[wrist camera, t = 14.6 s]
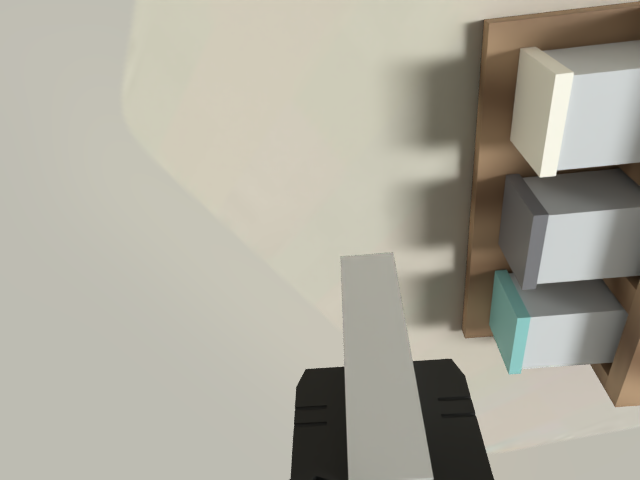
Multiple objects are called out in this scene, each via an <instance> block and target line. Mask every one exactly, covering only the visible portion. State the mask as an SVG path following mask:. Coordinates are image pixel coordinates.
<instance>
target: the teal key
mask: <svg viewBox="0 0 640 480" xmlns="http://www.w3.org/2000/svg"><path fill="white" fill-rule="evenodd" d="M627 317H628V313H627V312H626V311H625V309H624V308H623V307H622V305H621V304H620V303H619V301H618V300H617V299H616V297H615V296H614V294H613V293H612V292H611V290H610V289H609V288H608V286H607V285H606V284H605V282H604V281H603V280H602V279H591V280H579V281H567V282H555V283H543V284H537V285H536V289H529V290H522V289H521V287H520V285H519V283H518V281H517V279H516V277H515V275H514V273H508V271H507V270H497V271H495V276H494V284H493V293H492V302H491V311H490V320H489V326H490V328H491V331H492V333H493V336H494V338H495V341H496V343H497V346H498V348H499V351H500V353H501V356H502V358H503V361H504V363H505V366H506V368H507V371H508V373H509V374H520V373H521V370H522V369H529V368H543V367H557V366H571V365H585V364H599V363H612V362H613V360H614V357H615V354H616V351H617V348H618V345H619V342H620V339H621V335H622V332H623V329H624V326H625V323H626V320H627Z"/></svg>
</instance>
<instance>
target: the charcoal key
mask: <svg viewBox="0 0 640 480" xmlns="http://www.w3.org/2000/svg"><path fill="white" fill-rule="evenodd" d="M498 245H499V246H500V248H501V250H502V252H503V254H504V256H505V258H506V260H507V262H508V264H509V266H510V268H511V270H512V272H513V273H514V275H515V277H516V279H517V281H518V283H519V285H520V287H521V289H522V290H529V289H536V285H537V284H543V283H555V282H567V281H579V280H591V279H603V278H616V277H628V276H640V186H639V185H638V184H637V183H636V182H635V181H633V180H632V179H631V178H630V177H629V176H628V175H627V174H626V173H624V172H623V171H622V170H621V169H620V168H619V169H608V170H598V171H587V172H577V173H567V174H556V176H550V177H539V176H536V177H525V178H522V177H521V175H520V174H510V175H506V179H505V188H504V197H503V205H502V214H501V223H500V232H499V241H498Z"/></svg>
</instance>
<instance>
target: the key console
mask: <svg viewBox="0 0 640 480" xmlns="http://www.w3.org/2000/svg"><path fill="white" fill-rule="evenodd" d="M634 40H640V2H631V3H623V4H614V5H606V6H597V7H589V8H580V9H572V10H563V11H554V12H546V13H537V14H529V15H520V16H512V17H503V18H495V19H486V20H484V27H483V41H482V55H481V69H480V83H479V97H478V111H477V125H476V139H475V153H474V168H473V182H472V196H471V210H470V224H469V238H468V252H467V266H466V280H465V294H464V308H463V322H462V331H463V334H464V337H465V338H475V337H488V336H493V333H492V331H491V328H490V326H489V320H490V311H491V302H492V293H493V284H494V276H495V271H497V270H507V271H508V273H513V272H512V270H511V268H510V266H509V264H508V262H507V260H506V258H505V256H504V254H503V252H502V250H501V248H500V246H499V245H498V241H499V232H500V223H501V214H502V205H503V197H504V188H505V179H506V175H510V174H520V175H521V177H522V178H525V177H536V176H538V175H537V173H536V172H535V171H534V170H533V168H532V167H531V166H530V165H529V163H528V162H527V161H526V160H525V158H524V157H523V156H522V155H521V153H520V152H519V151H518V149H517V148H516V147H515V146H514V144H513V143H512V142H511V141H510V135H511V126H512V117H513V109H514V100H515V91H516V82H517V73H518V64H519V56H520V48H527V47H537V48H539V49H540V50H542V51H545V50H554V49H563V48H572V47H581V46H589V45H598V44H607V43H616V42H625V41H634ZM619 168H620V169H621V170H622V171H623V172H624V173H626V174H627V175H628V176H629V177H630V178H631V179H632V180H633V181H635V182H636V183H637V184H638V185H639V186H640V162H639V163H629V164H619V165H608V166H598V167H588V168H577V169H567V170H557V172H556V174H567V173H577V172H587V171H598V170H608V169H619ZM602 280H603V281H604V282H605V284H606V285H607V286H608V288H609V289H610V290H611V292H612V293H613V294H614V296H615V297H616V299H617V300H618V301H619V303H620V304H621V305H622V307H623V308H624V309H625V311H626V312H627V313H628V317H627V320H626V323H625V326H624V329H623V332H622V335H621V339H620V342H619V345H618V348H617V351H616V354H615V357H614V360H613V362H612V363H599V364H590V365H591V366H592V368H593V370H594V372H595V373H596V375H597V377H598V378H599V380H600V382H601V384H602V385H603V387H604V389H605V390H606V392H607V394H608V396H609V397H610V399H611V401H612V402H613V404H614V406H615V407H623V406H638V405H640V276H628V277H616V278H603V279H602Z"/></svg>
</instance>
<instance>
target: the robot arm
mask: <svg viewBox="0 0 640 480" xmlns="http://www.w3.org/2000/svg"><path fill="white" fill-rule="evenodd" d="M341 284H342V312H343V340H344V367H333V368H316V369H306V370H305V372H304V374H303V375H302V377H301V379H300V381H299V383H298V385H297V387H296V401H295V417H294V435H293V450H292V467H291V479H290V480H494V478H493V475H492V471H491V468H490V464H489V460H488V457H487V453H486V450H485V446H484V442H483V439H482V435H481V432H480V428H479V425H478V421H477V417H476V416H475V410H474V407H473V403H472V400H471V397H470V392H469V389H468V385H467V382H466V378H465V375H464V374H463V373H462V372H461V370H460V369H459V368H458V367H457V365H456V364H455V363H454V362H453V360H452V359H440V360H424V361H412V355H411V349H410V344H409V338H408V333H407V327H406V321H405V316H404V310H403V305H402V299H401V293H400V288H399V282H398V277H397V271H396V265H395V260H394V254H393V252H391V253H378V254H366V255H354V256H341Z"/></svg>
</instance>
